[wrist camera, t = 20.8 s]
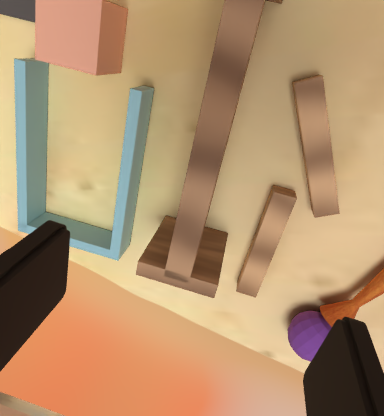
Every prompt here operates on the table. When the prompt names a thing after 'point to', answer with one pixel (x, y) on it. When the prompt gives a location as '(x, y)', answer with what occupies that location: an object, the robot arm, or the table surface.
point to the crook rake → (206, 163)
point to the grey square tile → (18, 9)
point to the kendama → (328, 319)
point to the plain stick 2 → (316, 144)
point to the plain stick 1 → (266, 239)
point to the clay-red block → (80, 34)
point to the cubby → (37, 163)
